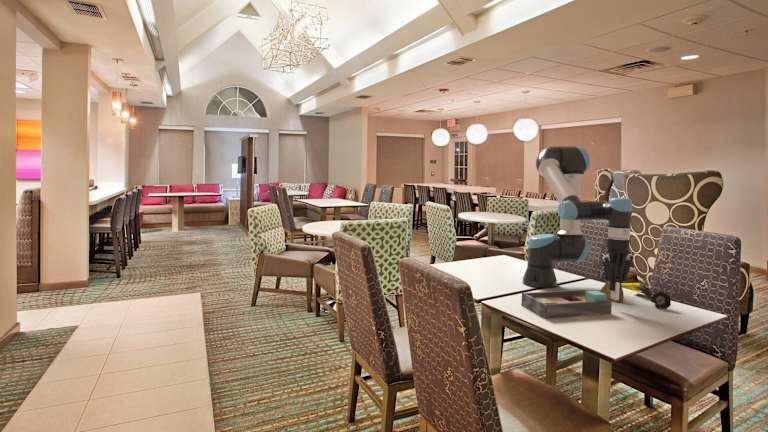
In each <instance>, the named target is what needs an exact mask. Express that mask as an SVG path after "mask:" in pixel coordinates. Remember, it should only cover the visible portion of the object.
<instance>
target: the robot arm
mask: <svg viewBox="0 0 768 432" xmlns="http://www.w3.org/2000/svg"><path fill="white" fill-rule="evenodd" d="M590 162H591V161H590V155H589V152H588V151H587V150H586V149H585V148H584V147H582V146H555V145H553V146H548V147H545V148H544V149H542V150H541V151H540V152H539V154H537V158H536V161H535V168H536V170H537V172H538V173H539V175H540V176H542V177H543V178H544V179H545V181H546V183H547V185H548V186H549V188H550V190H551V191H552V193H553V195H554V197H555V198H556V201H558V206H557V213H558V217H559V221H560V225H559V230H558V231H557V232H556V235H555V234H553V233H540V234H534V235H532V236H530V237H529V238H528V245H527V266H526V270H525V272H524V274H523V277H522V283H523V284H524V285H525V286H529V287H532V288H539V289H540V288H542V289H550V288H555V287H557V285H558V280H557V277H556V273H555V269H554V265H555V263H580V262H583V261H584V260H585V259H586V258H587V256H588V254H589V249H590V245H589V240H588V238H586V237H584V233H583V232H582V230H581V221H607V222H608V225H607V226H608V227H607V237H608V238H607V242H606V247H607V251H606V254H605V255H604V256H603V255H602V256H601V257H600V259H601V261H602V264H603V271H604V277H605V281H610V290H611V298H612V299H615V300H619V291H620V290H621V286H622V284H624V282H626V281H627V278H628V274H629V272H630V267H631V264H632V261H633V260H634V259H635V257H634V256H632V255H630V254H629V249H630V242H631V240H630V238H631V226H632V225H631V224H632V213H633V201H632V199H631V198H628V197H611V198H610V200H609V201H607V200H596V201H595V200H594V201H592V200H590V201H588V200H587V201H586V200H581V179H582V178H583V177H584V176H585V172H587V171H588V170H589V166H590Z"/></svg>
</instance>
